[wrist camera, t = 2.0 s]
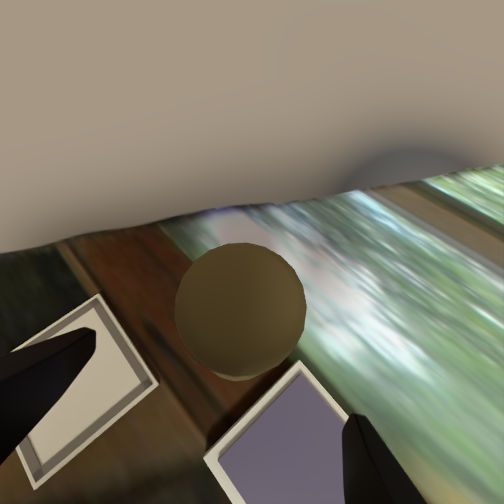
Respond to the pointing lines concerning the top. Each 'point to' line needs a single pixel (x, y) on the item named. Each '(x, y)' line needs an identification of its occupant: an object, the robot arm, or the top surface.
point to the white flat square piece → (86, 392)
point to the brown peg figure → (240, 310)
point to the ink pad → (284, 446)
